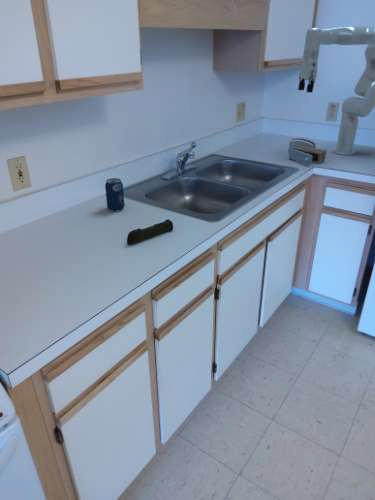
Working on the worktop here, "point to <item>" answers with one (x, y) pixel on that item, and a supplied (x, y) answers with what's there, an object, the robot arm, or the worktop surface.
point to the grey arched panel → (301, 143)
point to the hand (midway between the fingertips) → (305, 91)
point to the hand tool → (148, 232)
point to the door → (300, 156)
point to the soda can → (114, 194)
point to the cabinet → (313, 153)
